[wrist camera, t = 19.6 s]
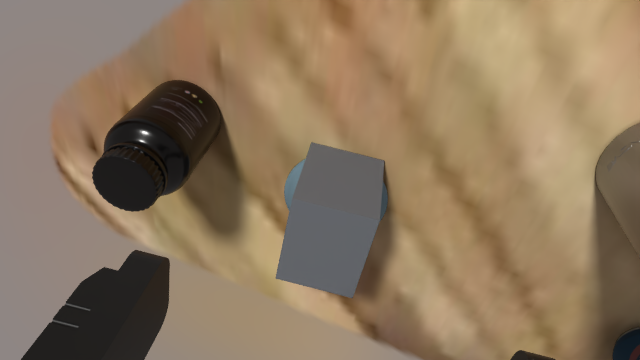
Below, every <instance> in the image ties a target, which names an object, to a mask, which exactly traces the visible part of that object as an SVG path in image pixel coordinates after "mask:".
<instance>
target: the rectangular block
mask: <svg viewBox="0 0 640 360" xmlns="http://www.w3.org/2000/svg"><path fill="white" fill-rule="evenodd" d="M383 172H384V160H380V159H376V158H372V157H368V156H364V155H360V154H356V153H352V152H348V151H344V150H340V149H336V148H332V147H328V146H324V145H320V144H316V143H312V142H311V145H310V148H309V151H308V154H307V157H306V159H305V162H304V165H303V168H302V171H301V174H300V177H299V180H298V183H297V186H296V189H295V192H294V194H293V197H292V202H291V206H290V211H289V216H288V221H287V226H286V230H285V235H284V240H283V245H282V250H281V255H280V259H279V264H278V269H277V274H276V279H280V280H284V281H288V282H292V283H296V284H299V285H303V286H307V287H311V288H315V289H319V290H323V291H327V292H331V293H335V294H338V295H342V296H346V297H350V298H353V295H354V293H355V290H356V287H357V284H358V281H359V278H360V276H361V273H362V270H363V267H364V264H365V261H366V259H367V256H368V253H369V250H370V247H371V244H372V242H373V239H374V236H375V233H376V230H377V227H378V225H379V222H380V212H381V199H382V186H383Z"/></svg>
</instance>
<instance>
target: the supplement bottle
mask: <svg viewBox="0 0 640 360" xmlns="http://www.w3.org/2000/svg"><path fill="white" fill-rule="evenodd" d="M220 124H221V119H220V113H219V110H218V107H217V105H216V103H215V101H214V100H213V99H212V97H211V96H210V95H209V94H208V93H207V92H206V91H205V90H204V89H202V88H201V87H199V86H197V85H195V84H193V83H190V82H187V81H182V80H172V81H167V82H164V83H162V84H160V85H159V86H157V87H156V88H155V89H154V90H153V91H151V92H150V93H149V94H148V95H147V96H146V97H145V98H143V99H142V100H141V101H140V102H139V103H138V104H137V105H136V106H135V107H133V108H132V109H131V110H130V111H129V112H128V113H127V114H126V115H125V116H123V117H122V118H121V119H120V120H119V121H118V122H117V123H116V124H115V125H114V126H113V127H112V128H111V129H110V130H109V132H108V134H107V136H106V138H105V142H104V153H103V155H102V157H101V158H100V159H99V160H98V161H97V162H96V165H95V166H94V167H93V172H92V174H93V176H92V178H93V180H94V181H93V183H94V185H95V187H96V189H97V190H98V192H99V194H100V195H102V197H103V198H104V199H105V200H107V201H108V203H111V204H112V205H113V206H115V207H118V208H120V209H124V210H126V211H132V212H133V211H140V210H145V209H147V208H149V207H150V206H152V205H153V204H154V203H155V201H156V200H157V199H158V198H159V197H160V196H163V195H168V194H171V193H173V192H175V191H177V190H178V189H180V188H181V187H182V186H183V185H184V184H185V182H186V181H187V180H188V178H189V177H190V175H191V174H192V172H193V171H194V169H195V168H196V167H197V165H198V164H199V162H200V161H201V159H202V158H203V156H204V155H205V153H206V152H207V150H208V149H209V147H210V146H211V144H212V143H213V141H214V140H215V138H216V137H217V135H218V132H219V130H220Z"/></svg>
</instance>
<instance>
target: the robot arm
mask: <svg viewBox="0 0 640 360" xmlns="http://www.w3.org/2000/svg"><path fill="white" fill-rule="evenodd" d="M596 182H597V186H598V188H599V190H600V192H601V194H602V195H603V197H604V199H605V201H606V202H607V204H608V206H609V207H610V209H611V211H612V212H613V214H614V216H615V218H616V219H617V221H618V223H619V224H620V226H621V228H622V230H623V231H624V233H625V235H626V236H627V238H628V240H629V241H630V243H631V245H632V246H633V248H634V250H635V251H636V253H637V255H638V256H639V258H640V123H638V124H636V125H634V126H632V127H630V128H628V129H627V130H625V131H624V132H623V133H621V134H620V135H618V136H617V137H616V138H615V139H614V140H613V141H612V142H611V143H610V144H609V145H608V146H607V147H606V149H605V150H604V152H603V153H602V155H601V156H600V159H599V161H598V164H597V168H596ZM169 268H170V262H169V259H168V258H166V257H162V256H158V255H154V254H150V253H146V252H142V251H138V250H135V251H133V252H132V253H131V254H130V255H129V256H128V258H127V259H126V261H125V262H124V263H123V265H122V266H121V268H120V269H119V270H118V271H116V270H113V269H109V268H105V267H104V268H102V269H101V270H99V271H98V272H96V273H94V274H93V275H91V276H90V277H88V278H87V279H85V280H84V281H82V282H81V283H80V285H79V286H78V287H77V288H76V290H75V291H74V292H73V293H72V295H71V296H70V297H69V299H68V300H67V301H66V304H65V306H62V308H61V309H60V310H59V312H58V313H57V314H56V315H55V317H54V318H53V321H52V322H51V323H49V324H48V325H47V327H46V328H45V329H44V331H43V332H42V333H41V335H40V336H39V337H38V338H37V340H36V341H35V342H34V343H33V345H32V346H31V347H30V349H29V350H28V351H27V352H26V354H25V355H24V356H23V358H22V359H21V360H144V359H145V357H146V355H147V353H148V351H149V349H150V347H151V346H152V344H153V342H154V340H155V338H156V336H157V334H158V333H159V331H160V329H161V326H162V324H163V322H164V319H165V316H166V313H167V309H168V302H169ZM511 360H555V359H553V358H549V357H545V356H542V355H538V354H534V353H530V352H526V351H522V350H519V351H517V352H516V353H515V354H514V356H513V357H512V358H511Z"/></svg>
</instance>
